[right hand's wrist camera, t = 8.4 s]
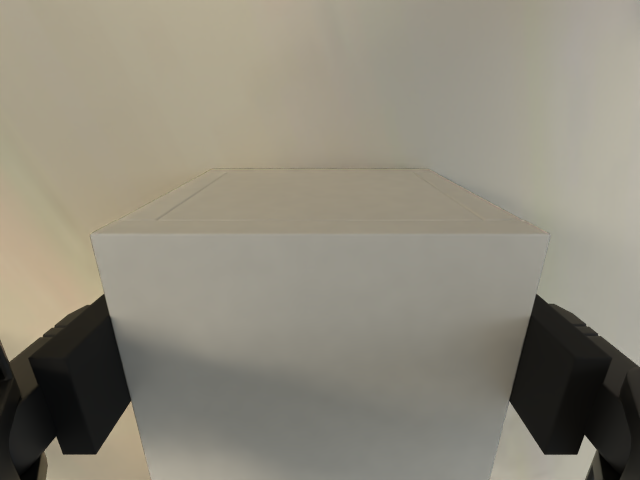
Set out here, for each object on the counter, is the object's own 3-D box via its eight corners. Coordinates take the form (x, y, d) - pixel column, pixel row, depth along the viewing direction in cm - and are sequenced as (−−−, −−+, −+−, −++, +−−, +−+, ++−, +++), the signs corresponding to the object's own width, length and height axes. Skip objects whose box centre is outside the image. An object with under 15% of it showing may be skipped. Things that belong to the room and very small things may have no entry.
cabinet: (394, 486, 24) (435, 696, 15) (246, 486, 24) (204, 696, 15) (429, 168, 16) (552, 234, 8) (211, 168, 16) (88, 233, 8)
